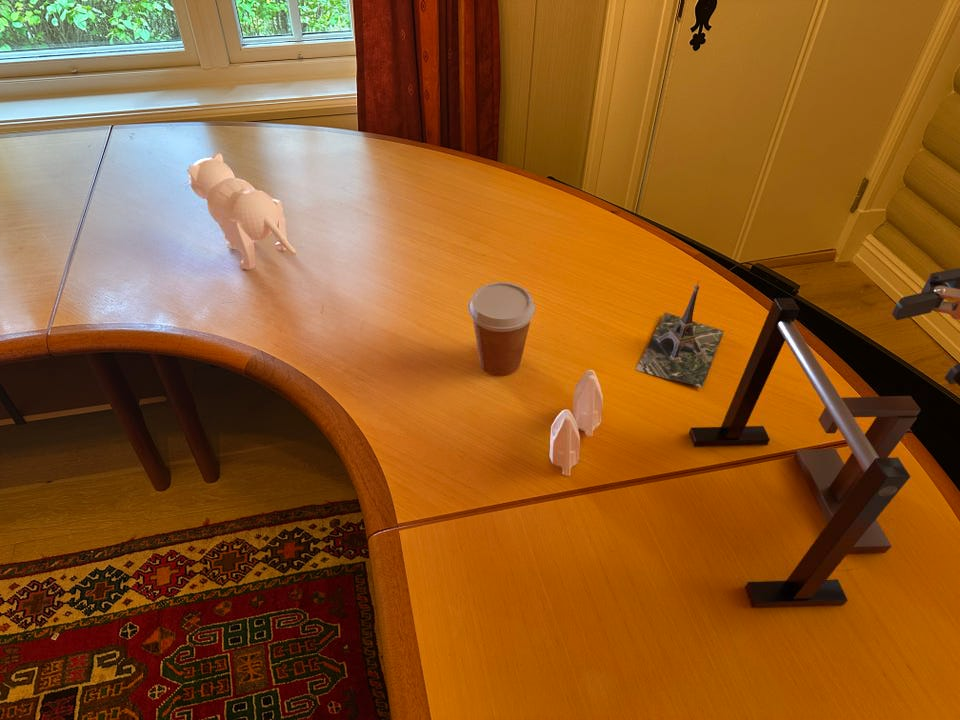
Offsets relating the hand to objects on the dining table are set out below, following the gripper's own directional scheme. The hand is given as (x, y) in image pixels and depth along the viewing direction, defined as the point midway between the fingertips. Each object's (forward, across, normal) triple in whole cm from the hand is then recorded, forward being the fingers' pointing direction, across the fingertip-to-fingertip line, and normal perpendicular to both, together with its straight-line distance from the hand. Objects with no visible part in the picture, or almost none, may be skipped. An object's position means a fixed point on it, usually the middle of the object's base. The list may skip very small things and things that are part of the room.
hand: (921, 342), depth 59 cm
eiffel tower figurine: (+13, -25, +26) cm, 38 cm away
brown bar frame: (+6, +4, +24) cm, 25 cm away
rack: (+14, +4, +22) cm, 27 cm away
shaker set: (+33, -10, +20) cm, 40 cm away
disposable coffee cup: (+41, -26, +20) cm, 53 cm away
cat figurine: (+82, -63, +16) cm, 104 cm away
